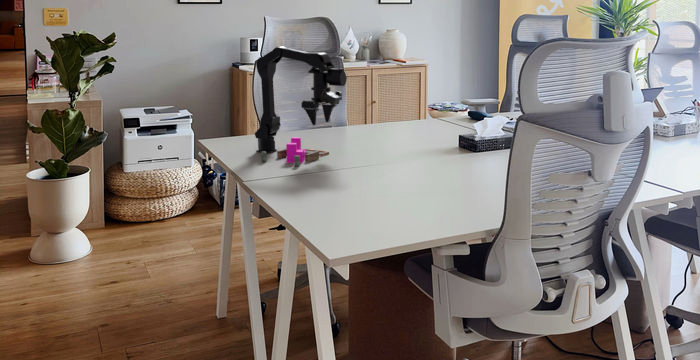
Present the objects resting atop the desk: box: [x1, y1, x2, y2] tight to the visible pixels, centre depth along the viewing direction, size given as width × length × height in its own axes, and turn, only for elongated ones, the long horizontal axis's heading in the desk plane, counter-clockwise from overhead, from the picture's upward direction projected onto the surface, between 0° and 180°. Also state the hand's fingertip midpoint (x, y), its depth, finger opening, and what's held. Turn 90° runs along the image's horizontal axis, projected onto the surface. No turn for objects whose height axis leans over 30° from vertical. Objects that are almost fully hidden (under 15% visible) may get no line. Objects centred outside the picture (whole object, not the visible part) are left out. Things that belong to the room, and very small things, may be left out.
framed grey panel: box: [260, 148, 330, 168], centre depth 294 cm, size 18×27×4 cm, turn 149°
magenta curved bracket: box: [285, 136, 307, 164], centre depth 293 cm, size 15×6×8 cm, turn 176°
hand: (320, 123), depth 294 cm, fingers open, 9 cm apart
